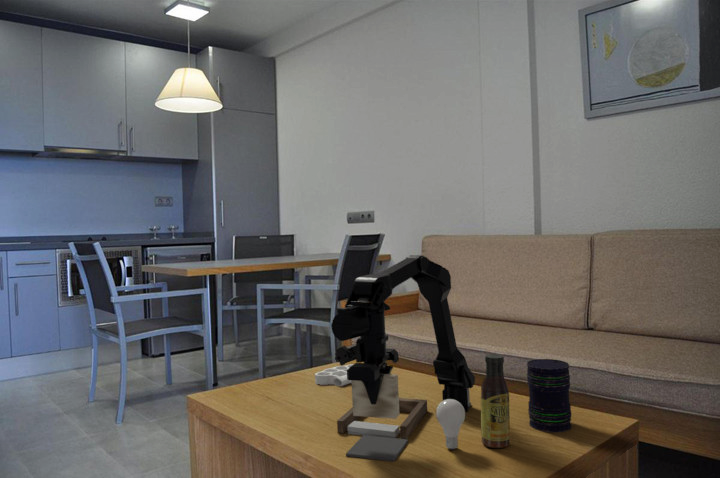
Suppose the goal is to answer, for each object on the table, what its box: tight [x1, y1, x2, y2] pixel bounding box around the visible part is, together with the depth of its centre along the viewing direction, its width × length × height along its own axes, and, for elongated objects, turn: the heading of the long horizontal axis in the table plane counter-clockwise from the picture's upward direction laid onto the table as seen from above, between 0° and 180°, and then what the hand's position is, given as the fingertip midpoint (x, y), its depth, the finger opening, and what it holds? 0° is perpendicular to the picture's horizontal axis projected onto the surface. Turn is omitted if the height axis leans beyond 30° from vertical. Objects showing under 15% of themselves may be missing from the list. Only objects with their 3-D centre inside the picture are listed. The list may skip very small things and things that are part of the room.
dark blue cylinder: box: [526, 358, 572, 433], centre depth 135 cm, size 10×10×15 cm
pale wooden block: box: [351, 373, 400, 420], centre depth 125 cm, size 10×3×9 cm, turn 70°
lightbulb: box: [435, 399, 466, 450], centre depth 123 cm, size 6×6×11 cm
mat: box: [345, 435, 409, 462], centre depth 125 cm, size 11×11×1 cm
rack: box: [336, 397, 428, 439], centre depth 142 cm, size 18×20×3 cm
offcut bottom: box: [347, 431, 400, 438], centre depth 135 cm, size 12×4×1 cm, turn 70°
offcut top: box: [347, 420, 400, 437], centre depth 135 cm, size 12×4×1 cm, turn 66°
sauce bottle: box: [480, 353, 511, 449], centre depth 124 cm, size 7×6×20 cm
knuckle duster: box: [314, 363, 355, 387], centre depth 185 cm, size 3×18×15 cm
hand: (375, 401), depth 125 cm, fingers closed on pale wooden block, 3 cm apart
